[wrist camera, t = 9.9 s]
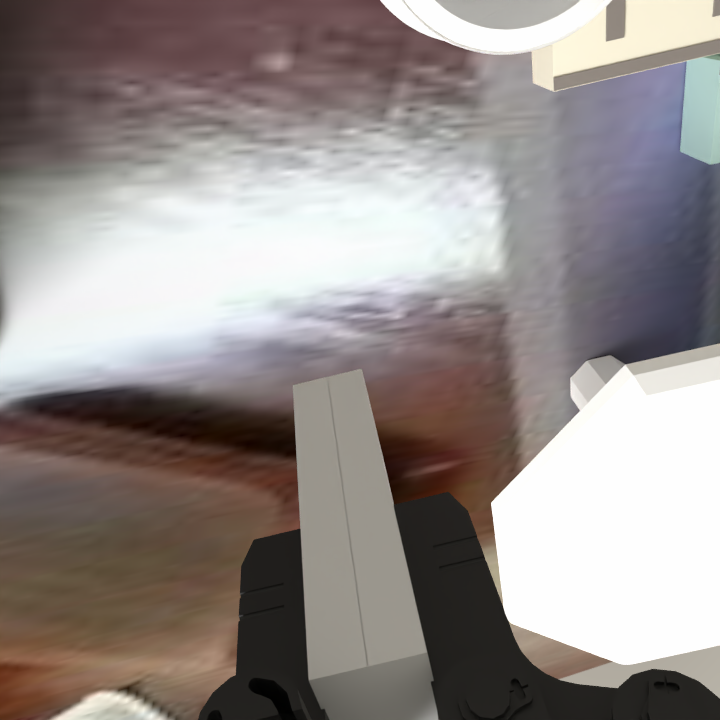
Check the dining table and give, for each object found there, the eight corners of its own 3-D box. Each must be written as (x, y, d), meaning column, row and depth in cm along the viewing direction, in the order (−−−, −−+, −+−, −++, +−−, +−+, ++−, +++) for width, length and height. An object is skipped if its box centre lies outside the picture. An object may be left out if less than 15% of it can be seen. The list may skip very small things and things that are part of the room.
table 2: (396, 495, 56) (434, 671, 42) (488, 185, 42) (593, 292, 28) (673, 515, 61) (791, 678, 47) (837, 246, 47) (1075, 362, 33)
